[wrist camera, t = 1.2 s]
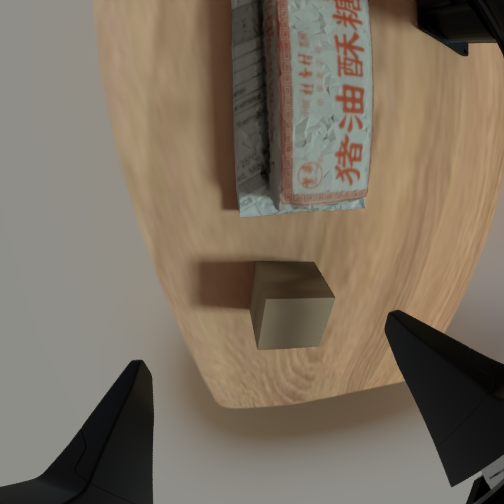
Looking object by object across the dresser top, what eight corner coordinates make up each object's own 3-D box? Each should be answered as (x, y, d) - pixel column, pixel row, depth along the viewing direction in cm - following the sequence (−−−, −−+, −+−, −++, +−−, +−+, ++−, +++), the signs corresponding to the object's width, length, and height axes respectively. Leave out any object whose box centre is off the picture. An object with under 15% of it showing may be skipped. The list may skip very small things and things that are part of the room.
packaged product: (233, -50, 8) (390, -21, 9) (228, -18, 12) (358, -3, 13) (243, 239, 16) (389, 228, 17) (236, 211, 21) (358, 204, 22)
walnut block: (314, 261, 23) (335, 297, 19) (302, 307, 26) (318, 346, 21) (255, 260, 22) (266, 298, 18) (249, 308, 25) (257, 349, 20)
